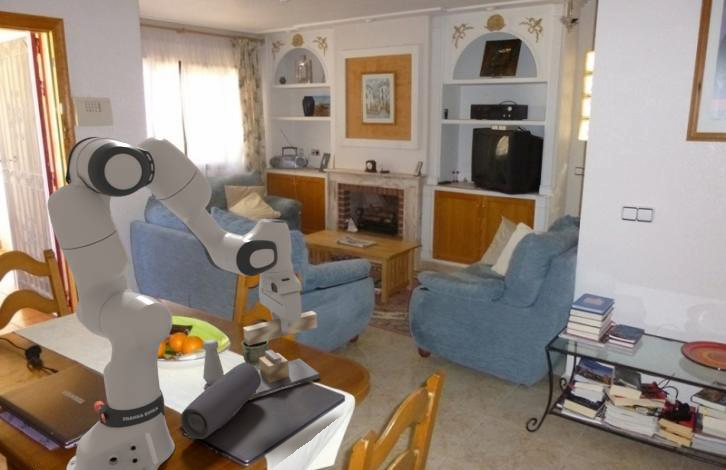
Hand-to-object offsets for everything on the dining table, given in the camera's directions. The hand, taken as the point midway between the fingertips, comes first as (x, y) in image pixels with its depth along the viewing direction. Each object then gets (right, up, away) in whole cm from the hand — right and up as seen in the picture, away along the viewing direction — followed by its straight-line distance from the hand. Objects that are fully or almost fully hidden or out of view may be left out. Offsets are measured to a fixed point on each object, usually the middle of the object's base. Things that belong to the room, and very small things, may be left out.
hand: (280, 328), depth 147 cm
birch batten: (0, -2, +1) cm, 2 cm away
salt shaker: (-21, -18, +13) cm, 31 cm away
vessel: (-12, -15, +27) cm, 33 cm away
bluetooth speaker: (-13, -22, -8) cm, 26 cm away
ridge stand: (-3, -17, +12) cm, 21 cm away
